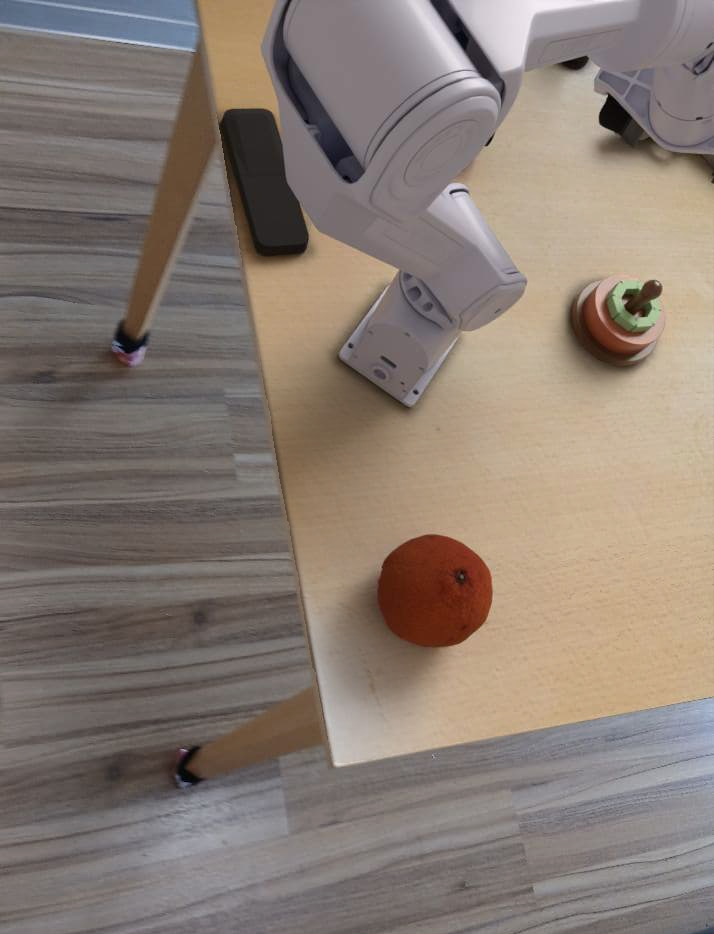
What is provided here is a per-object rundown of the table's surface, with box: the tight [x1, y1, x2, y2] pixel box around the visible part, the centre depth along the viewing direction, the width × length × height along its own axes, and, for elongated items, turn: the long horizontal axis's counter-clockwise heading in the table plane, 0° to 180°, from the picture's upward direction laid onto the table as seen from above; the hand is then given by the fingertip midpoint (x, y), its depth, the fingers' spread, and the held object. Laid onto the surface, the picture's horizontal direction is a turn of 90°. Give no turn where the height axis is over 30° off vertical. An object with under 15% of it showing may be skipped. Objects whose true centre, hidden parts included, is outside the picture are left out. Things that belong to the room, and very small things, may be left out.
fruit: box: [376, 533, 494, 649], centre depth 64 cm, size 9×9×8 cm
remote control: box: [220, 107, 310, 257], centre depth 75 cm, size 5×2×15 cm
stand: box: [570, 273, 666, 367], centre depth 78 cm, size 9×9×7 cm
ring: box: [606, 280, 661, 333], centre depth 79 cm, size 5×5×1 cm
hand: (679, 153), depth 69 cm, fingers open, 7 cm apart
